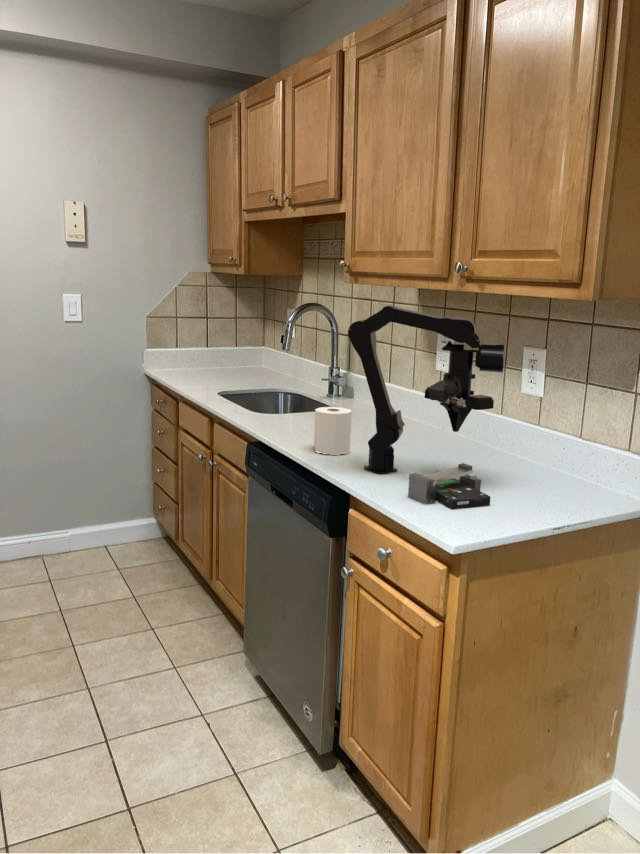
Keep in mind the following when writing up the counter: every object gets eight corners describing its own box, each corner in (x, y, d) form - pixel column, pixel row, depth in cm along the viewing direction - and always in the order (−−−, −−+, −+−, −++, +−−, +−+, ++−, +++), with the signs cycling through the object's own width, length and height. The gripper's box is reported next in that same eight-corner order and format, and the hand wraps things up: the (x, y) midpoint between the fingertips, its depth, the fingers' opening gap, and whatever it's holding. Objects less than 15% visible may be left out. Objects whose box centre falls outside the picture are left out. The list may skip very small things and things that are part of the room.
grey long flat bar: (419, 479, 163) (419, 473, 162) (461, 468, 170) (461, 462, 170) (431, 484, 160) (431, 477, 159) (473, 473, 167) (473, 466, 166)
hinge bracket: (407, 496, 163) (408, 473, 162) (416, 494, 165) (418, 472, 164) (426, 504, 158) (428, 481, 157) (436, 502, 160) (438, 479, 159)
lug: (458, 488, 171) (460, 472, 171) (464, 486, 173) (466, 471, 172) (474, 493, 167) (475, 477, 167) (480, 492, 169) (481, 476, 168)
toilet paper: (355, 454, 200) (357, 412, 197) (321, 456, 196) (322, 414, 194) (341, 446, 209) (343, 405, 206) (308, 448, 205) (310, 407, 203)
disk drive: (490, 508, 159) (454, 488, 173) (492, 496, 159) (455, 477, 172) (451, 512, 155) (417, 491, 169) (452, 500, 155) (418, 480, 168)
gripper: (410, 366, 177) (406, 427, 181) (464, 376, 162) (459, 442, 166) (442, 364, 184) (438, 423, 187) (497, 374, 169) (492, 438, 172)
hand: (455, 431), depth 178 cm, fingers closed
